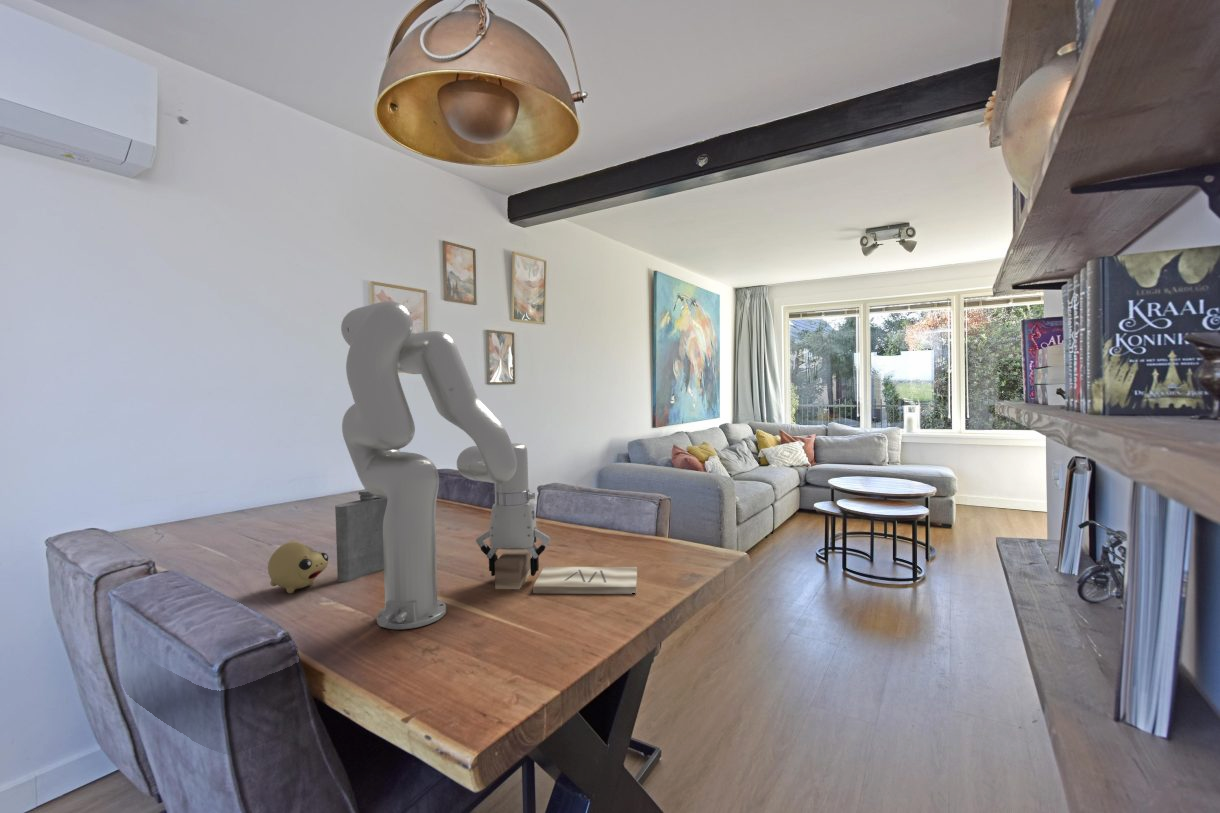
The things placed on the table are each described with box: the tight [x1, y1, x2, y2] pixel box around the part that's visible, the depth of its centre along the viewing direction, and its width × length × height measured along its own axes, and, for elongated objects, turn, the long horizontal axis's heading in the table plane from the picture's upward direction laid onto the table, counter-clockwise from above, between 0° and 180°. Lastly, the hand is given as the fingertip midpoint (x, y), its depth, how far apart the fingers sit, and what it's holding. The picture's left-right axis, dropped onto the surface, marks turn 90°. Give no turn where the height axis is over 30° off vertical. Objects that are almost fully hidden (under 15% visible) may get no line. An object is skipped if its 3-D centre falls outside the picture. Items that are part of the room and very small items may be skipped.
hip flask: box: [335, 489, 388, 583], centre depth 133 cm, size 16×4×20 cm, turn 145°
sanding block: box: [494, 549, 532, 590], centre depth 125 cm, size 10×6×6 cm, turn 175°
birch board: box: [532, 566, 638, 595], centre depth 123 cm, size 13×22×2 cm, turn 86°
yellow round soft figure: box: [267, 540, 329, 594], centre depth 122 cm, size 10×12×11 cm
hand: (514, 573), depth 125 cm, fingers open, 8 cm apart
